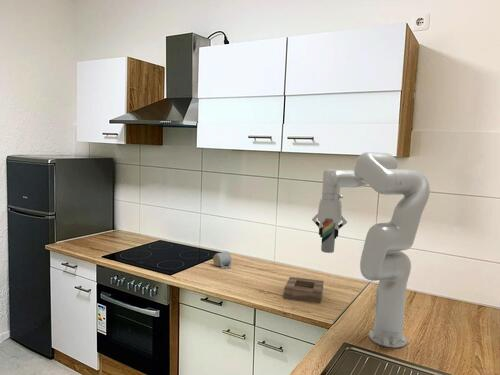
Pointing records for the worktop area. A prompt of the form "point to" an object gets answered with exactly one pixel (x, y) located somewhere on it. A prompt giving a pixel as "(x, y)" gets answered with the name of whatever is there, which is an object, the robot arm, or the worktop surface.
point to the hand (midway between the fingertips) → (328, 237)
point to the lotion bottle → (328, 236)
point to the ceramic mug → (222, 259)
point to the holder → (304, 290)
